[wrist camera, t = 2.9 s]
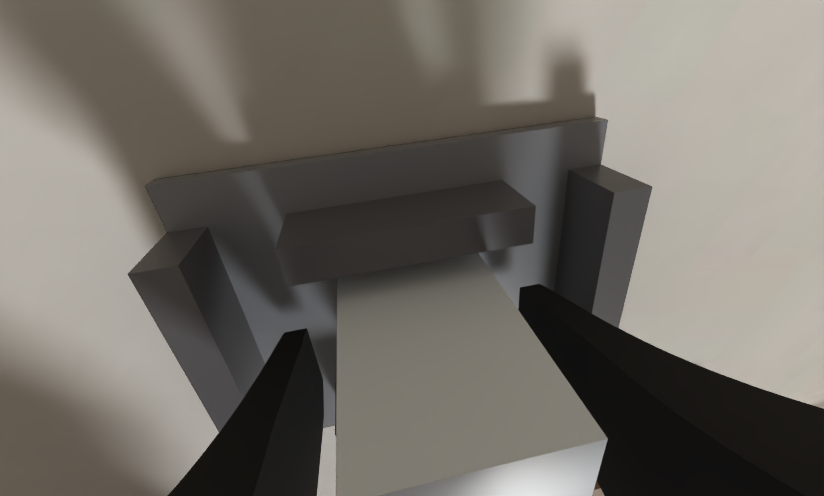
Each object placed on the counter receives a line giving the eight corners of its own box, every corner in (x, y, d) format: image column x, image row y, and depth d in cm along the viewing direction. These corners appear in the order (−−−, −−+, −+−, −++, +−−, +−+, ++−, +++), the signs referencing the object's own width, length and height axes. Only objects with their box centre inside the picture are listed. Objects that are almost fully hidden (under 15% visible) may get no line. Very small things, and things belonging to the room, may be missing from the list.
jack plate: (269, 428, 14) (256, 497, 12) (154, 179, 9) (96, 219, 7) (560, 365, 15) (597, 416, 13) (596, 116, 10) (664, 133, 8)
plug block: (360, 361, 12) (378, 615, 7) (337, 263, 11) (335, 505, 5) (471, 338, 13) (574, 559, 7) (469, 240, 11) (608, 438, 5)
